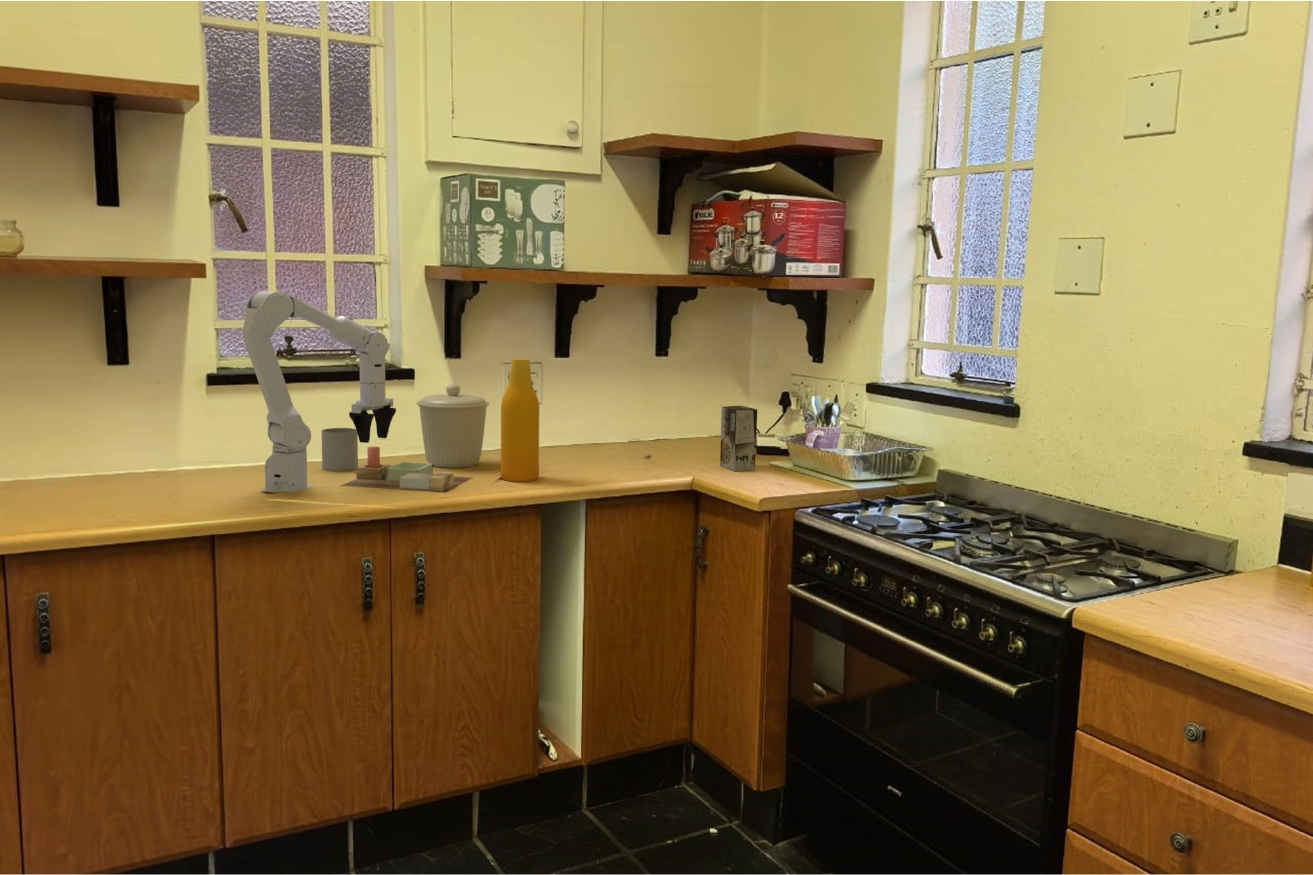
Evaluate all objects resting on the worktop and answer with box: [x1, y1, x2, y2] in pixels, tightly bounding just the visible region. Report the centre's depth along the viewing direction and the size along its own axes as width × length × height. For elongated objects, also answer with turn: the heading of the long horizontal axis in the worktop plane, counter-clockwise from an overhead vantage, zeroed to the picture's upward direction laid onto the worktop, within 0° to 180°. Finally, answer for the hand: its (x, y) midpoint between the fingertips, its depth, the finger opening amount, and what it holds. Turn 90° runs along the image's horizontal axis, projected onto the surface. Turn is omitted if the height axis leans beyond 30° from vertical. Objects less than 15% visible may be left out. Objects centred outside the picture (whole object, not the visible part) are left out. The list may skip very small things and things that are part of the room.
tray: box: [385, 461, 434, 481], centre depth 247 cm, size 9×8×3 cm
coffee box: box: [719, 405, 759, 472], centre depth 274 cm, size 9×6×16 cm
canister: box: [416, 383, 490, 469], centre depth 266 cm, size 18×18×21 cm
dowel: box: [366, 446, 381, 468], centre depth 247 cm, size 3×3×7 cm
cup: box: [321, 427, 359, 472], centre depth 257 cm, size 8×8×10 cm
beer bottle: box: [500, 357, 540, 483], centre depth 251 cm, size 9×9×29 cm
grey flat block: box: [400, 473, 437, 490], centre depth 237 cm, size 6×7×2 cm
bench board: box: [340, 462, 474, 493], centre depth 243 cm, size 18×26×4 cm
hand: (373, 440), depth 246 cm, fingers open, 7 cm apart
